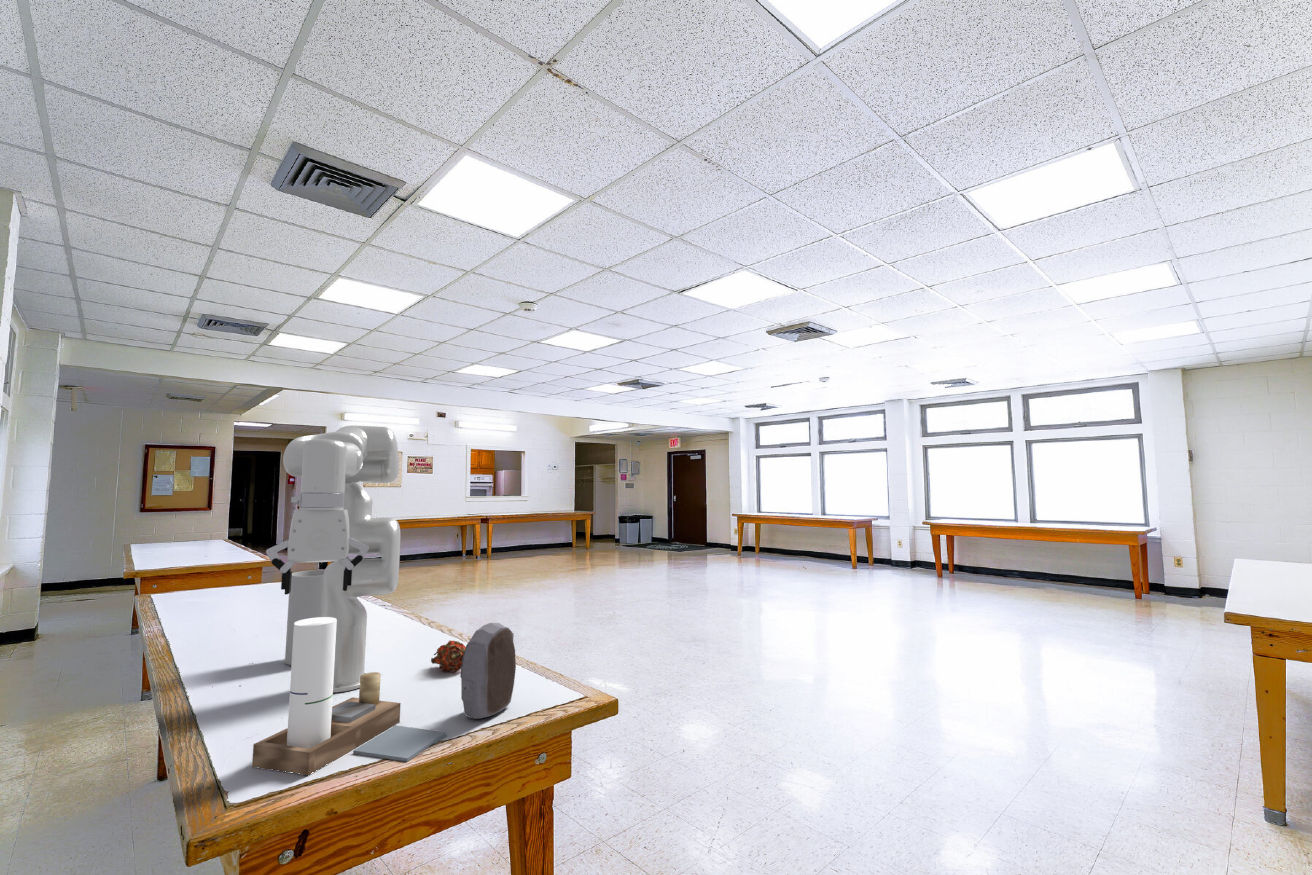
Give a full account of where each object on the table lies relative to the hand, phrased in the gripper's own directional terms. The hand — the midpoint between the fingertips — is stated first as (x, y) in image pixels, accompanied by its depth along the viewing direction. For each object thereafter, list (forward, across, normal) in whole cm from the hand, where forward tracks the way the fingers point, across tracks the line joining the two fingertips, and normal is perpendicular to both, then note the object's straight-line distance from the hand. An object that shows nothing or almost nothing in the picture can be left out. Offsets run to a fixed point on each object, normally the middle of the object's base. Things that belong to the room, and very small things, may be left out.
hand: (316, 591), depth 112 cm
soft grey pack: (+31, +34, +9) cm, 47 cm away
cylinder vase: (+30, -5, +68) cm, 74 cm away
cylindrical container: (+31, 0, +1) cm, 31 cm away
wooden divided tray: (+31, +4, +6) cm, 31 cm away
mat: (+31, +16, -1) cm, 35 cm away
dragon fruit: (+30, +30, +43) cm, 61 cm away
